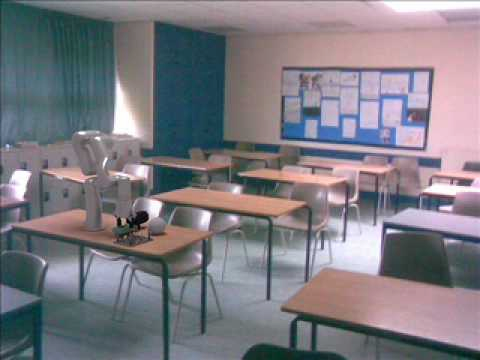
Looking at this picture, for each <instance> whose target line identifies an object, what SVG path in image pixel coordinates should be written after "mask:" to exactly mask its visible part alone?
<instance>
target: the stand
mask: <svg viewBox="0 0 480 360" xmlns="http://www.w3.org/2000/svg"><path fill="white" fill-rule="evenodd" d="M130 233H132V236H134V230H133V231H130V232H126V233H123V234H120V233H119V239H124V236H127V237H130ZM115 238H117V233H115Z"/></svg>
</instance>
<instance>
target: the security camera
mask: <svg viewBox="0 0 480 360" xmlns="http://www.w3.org/2000/svg"><path fill="white" fill-rule="evenodd" d="M135 213H136V214H137V216H136V219H135V221H134V225H137V231H138V230H141V229H142V227H141V225H143V224H145V223H147V222H148V221H149V220H150V214H149V213H148V212H147V210H140V211H136V212H135ZM129 222H130V221H129V219H128V218H125V223H128V224H129Z"/></svg>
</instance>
